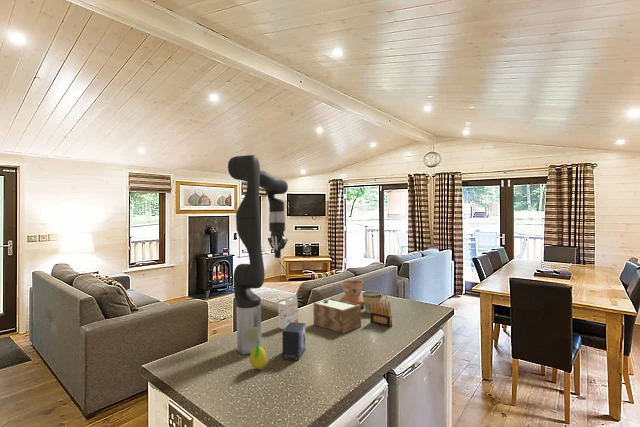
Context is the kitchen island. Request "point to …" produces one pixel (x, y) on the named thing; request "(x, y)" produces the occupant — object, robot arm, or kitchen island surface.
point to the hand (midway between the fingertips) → (277, 257)
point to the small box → (293, 341)
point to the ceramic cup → (368, 297)
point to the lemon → (258, 357)
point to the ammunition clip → (380, 313)
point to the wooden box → (338, 317)
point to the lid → (336, 304)
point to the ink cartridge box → (288, 311)
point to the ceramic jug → (353, 291)
